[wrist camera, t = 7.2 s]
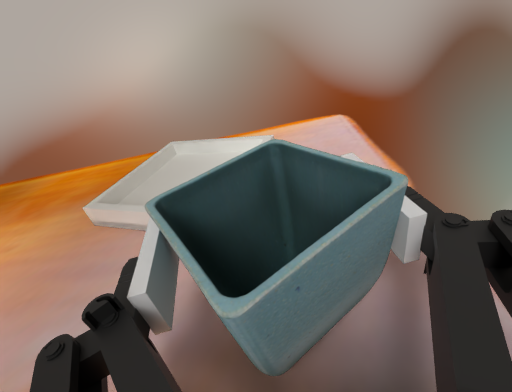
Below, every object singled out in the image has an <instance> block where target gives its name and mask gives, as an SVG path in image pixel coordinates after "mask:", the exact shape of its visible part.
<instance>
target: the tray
mask: <svg viewBox="0 0 512 392" xmlns="http://www.w3.org/2000/svg"><path fill="white" fill-rule="evenodd" d="M272 139H274V135H266V136H251V137H236V138H221V139H207V140H191V141H177V142H171V143H169V144H168V145H166V146H165V147H164V148H162V149H161V150H160V151H158V152H157V153H156V154H154V155H153V156H152V157H150V158H149V159H148V160H146V161H145V162H144V163H142V164H141V165H139V166H138V167H137V168H135V169H134V170H133V171H131V172H130V173H129V174H127V175H126V176H125V177H123V178H122V179H121V180H119V181H118V182H117V183H115V184H114V185H113V186H111V187H110V188H109V189H107V190H106V191H105V192H103V193H102V194H101V195H99V196H98V197H97V198H95V199H94V200H93V201H91V202H90V203H88V204H87V205H86V206H84V207H83V210H84V211H85V213H86V214H87V215H88V217H89V218H90V220H91V221H92V223H93V224H94V225H96V226H105V227H115V228H124V229H134V230H143V231H146V229H147V226H148V222H149V219H150V216H149V214H148V213H147V212H146V210H145V207H144V206H145V204H146V203H147V202H148V201H150V200H151V199H153V198H154V197H156V196H158V195H160V194H162V193H164V192H166V191H168V190H170V189H172V188H174V187H176V186H178V185H180V184H182V183H184V182H187V181H189V180H191V179H192V178H195V177H197V176H199V175H201V174H203V173H205V172H207V171H209V170H211V169H213V168H215V167H216V166H218V165H221V164H223V163H224V162H227V161H228V160H230V159H232V158H235V157H236V156H239V155H241V154H242V153H244V152H246V151H248V150H250V149H253V148H254V147H257V146H258V145H260V144H263V143H265V142H267V141H269V140H272Z"/></svg>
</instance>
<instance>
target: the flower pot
mask: <svg viewBox="0 0 512 392" xmlns="http://www.w3.org/2000/svg"><path fill="white" fill-rule="evenodd" d="M407 185H408V178H407V176H405V175H403V174H400V173H397V172H394V171H392V170H388V169H384V168H381V167H378V166H375V165H370V164H367V163H364V162H359V161H354V160H351V159H347V158H343V157H340V156H336V155H333V154H329V153H326V152H322V151H318V150H315V149H311V148H307V147H304V146H301V145H297V144H294V143H290V142H287V141H285V140H278V139H272V140H269V141H267V142H265V143H263V144H260V145H258V146H257V147H254V148H253V149H250V150H248V151H246V152H244V153H242V154H241V155H239V156H236V157H235V158H232V159H230V160H228V161H227V162H224V163H223V164H221V165H218V166H216V167H215V168H213V169H211V170H209V171H207V172H205V173H203V174H201V175H199V176H197V177H195V178H192V179H191V180H189V181H187V182H184V183H182V184H180V185H178V186H176V187H174V188H172V189H170V190H168V191H166V192H164V193H162V194H160V195H158V196H156V197H154V198H153V199H151V200H150V201H148V202H147V203H146V204H145V206H144V207H145V210H146V212H147V213H148V214H149V216H150V217H151V218H152V220H153V221H154V222H155V224H156V225H157V227H158V228H159V229H160V231H161V232H162V234H163V235H164V236H165V238H166V239H167V241H168V242H169V244H170V245H171V246H172V248H173V249H174V251H175V252H176V254H177V255H178V256H179V258H180V259H181V261H182V262H183V264H184V265H185V267H186V268H187V270H188V271H189V273H190V274H191V276H192V277H193V279H194V280H195V282H196V283H197V285H198V286H199V288H200V289H201V291H202V292H203V294H204V296H205V297H206V299H207V300H208V302H209V303H210V305H211V306H212V308H213V309H214V310H215V312H216V313H217V315H218V316H219V318H220V319H221V321H222V322H223V324H224V325H225V326H226V328H227V329H228V330H229V332H230V333H231V335H232V336H233V337H234V339H235V340H236V341H237V343H238V344H239V345H240V347H241V348H242V350H243V351H244V352H245V354H246V355H247V357H248V358H249V359H250V361H251V362H252V363H253V364H254V365H255V367H256V368H257V369H259V370H260V371H261V372H262V373H264V374H266V375H269V376H279V375H282V374H283V373H285V372H286V371H288V370H289V369H290V368H291V367H292V366H293V365H294V364H295V363H296V362H297V361H298V360H299V359H300V358H301V357H302V356H303V355H304V354H305V353H306V352H307V351H308V350H309V349H310V348H311V347H313V346H314V345H315V344H316V343H317V342H318V341H319V340H320V339H321V338H322V337H323V336H324V335H325V334H326V333H327V332H328V331H329V330H330V329H331V328H332V327H333V326H334V325H335V324H336V323H337V322H338V321H339V320H340V319H341V318H342V317H343V316H344V315H345V314H347V313H348V312H349V311H350V310H351V309H352V308H353V307H354V306H355V305H356V304H357V303H358V302H359V301H360V300H361V299H362V298H363V297H364V296H365V295H366V294H367V293H368V291H369V290H370V289H371V288H372V287H373V285H374V284H375V282H376V281H377V279H378V278H379V276H380V274H381V273H382V271H383V268H384V266H385V264H386V261H387V258H388V255H389V252H390V248H391V245H392V241H393V238H394V234H395V230H396V227H397V223H398V219H399V215H400V212H401V208H402V204H403V200H404V196H405V192H406V188H407Z"/></svg>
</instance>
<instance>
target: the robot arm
mask: <svg viewBox="0 0 512 392" xmlns="http://www.w3.org/2000/svg"><path fill="white" fill-rule="evenodd" d="M340 157H343V158H347V159H351V160H354V161H359V162H363V161H362V160H361V159H359V158H358V157H357V156H356V155H355V154H353V153H348V154H345V155H341V156H340ZM390 249H391V250H392V251H393V252H394V253H395V255H396V256H397V257H398V258H399V259H400V260H401V261H402V263H403V264H405V263H408V262H412V261H415V260H419V257H420V252H421V251H422V252H423V253H424V254H425V255H426V256H427V259H426V264H425V269H424V274H427V282H428V293H429V305H430V316H431V328H432V340H433V351H434V363H435V375H436V386H437V392H512V361H511V357H510V354H509V351H508V347H507V344H506V340H505V337H504V333H503V330H502V326H501V323H500V319H499V316H498V312H497V309H496V306H495V302H494V299H493V295H492V292H491V288H490V285H489V283H490V284H491V286H492V287H493V289H494V291H495V292H496V294H497V295H498V297H499V298H500V300H501V302H502V303H503V305H504V306H505V308H506V309H507V311H508V312H509V314H510V316H511V317H512V210H500V211H496V212H494V213H493V214H492V217H491V220H484V221H483V220H482V221H470V220H468V219H467V218H465V217H464V216H461V215H458V214H453V213H444V212H443V211H442V210H440V209H439V208H438V207H436V206H435V205H433V204H432V203H431V202H429V201H428V200H427V199H425V198H423V196H421V195H420V194H418V192H416V191H415V190H414V189H412V188H411V187H409V186H407V188H406V192H405V196H404V200H403V204H402V208H401V212H400V215H399V219H398V223H397V227H396V230H395V234H394V238H393V241H392V245H391V248H390ZM178 265H179V256H178V255H177V254H176V252H175V251H174V249H173V248H172V246H171V245H170V244H169V242H168V241H167V239H166V238H165V236H164V235H163V234H162V232H161V231H160V229H159V228H158V227H157V225H156V224H155V222H154V221H153V220H152V218H151V217H150V219H149V222H148V226H147V229H146V233H145V236H144V240H143V243H142V247H141V250H140V254H139V257H135V258H132V259H129V260H128V262H127V263H126V264H125V266H124V267H123V269H122V272H121V275H120V278H119V281H118V285H117V287H116V290H115V293H114V295H113V294H110V293H107V294H103V295H100V296H99V297H97V298H95V299H94V300H93V301H91V302H90V303H89V304H88V305H87V307H86V308H85V309H84V311H83V314H82V321H83V322H84V323H85V324H86V325H87V326H88V327H89V328H90V330H89V331H87V332H85V333H83V334H81V335H80V336H78V337H76V338H73V337H72V336H70V335H69V334H63V335H60V336H57V337H56V338H54V339H53V340H51V341H50V342H48V343H47V344H46V345H45V346H44V347H43V348H42V350H41V351H40V353H39V354H38V356H37V359H36V361H35V367H34V372H33V377H32V383H31V388H30V392H108V385H107V376H108V375H111V377H112V380H113V383H114V385H115V388H116V390H117V392H182V391H181V389H180V387H179V386H178V384H177V382H176V381H175V379H174V378H173V376H172V374H171V373H170V371H169V369H168V368H167V366H166V364H165V363H164V361H163V359H162V358H161V356H160V354H159V353H158V351H157V349H156V348H155V346H154V344H153V343H152V341H151V340H150V339H149V337H148V336H149V331H150V329H151V330H152V331H153V333H154V334H155V335H156V334H160V333H163V332H167V331H170V330H172V322H173V312H174V303H175V293H176V284H177V275H178Z"/></svg>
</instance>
